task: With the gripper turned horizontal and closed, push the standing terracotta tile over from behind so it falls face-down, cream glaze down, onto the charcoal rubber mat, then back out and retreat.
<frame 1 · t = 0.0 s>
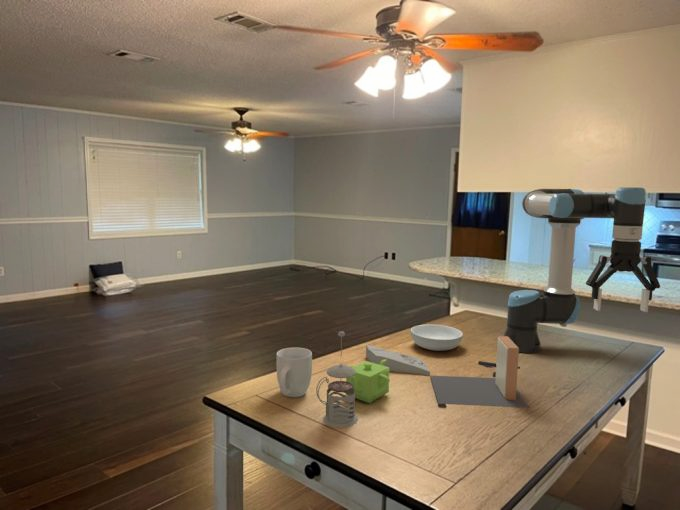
hand: (620, 310, 144), 28 cm above the table, tool pointing down, fingers open, 13 cm apart
ramp: (396, 367, 174), on the table
tile: (505, 391, 150), point 1 cm above the table, touching mat
serving bowl: (435, 348, 196), on the table
mug: (292, 395, 148), on the table
teapot: (367, 397, 147), on the table
mat: (475, 393, 151), on the table
french press: (337, 420, 132), on the table
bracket: (496, 374, 169), on the table
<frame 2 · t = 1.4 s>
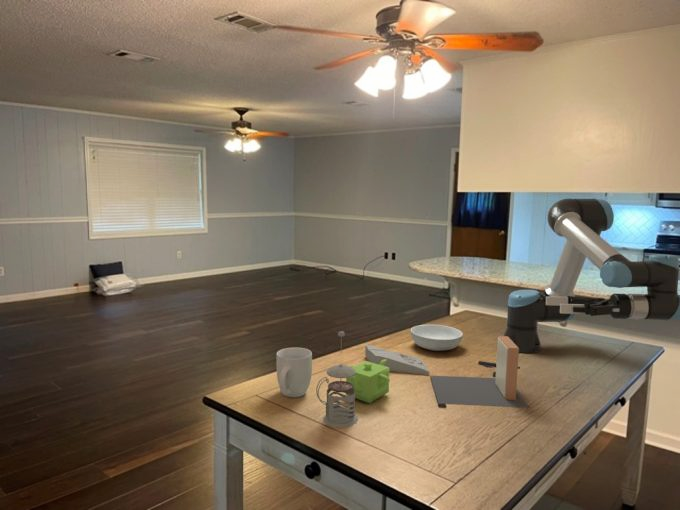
hand: (552, 304, 147), 29 cm above the table, tool horizontal, fingers open, 13 cm apart
nothing on the table moved.
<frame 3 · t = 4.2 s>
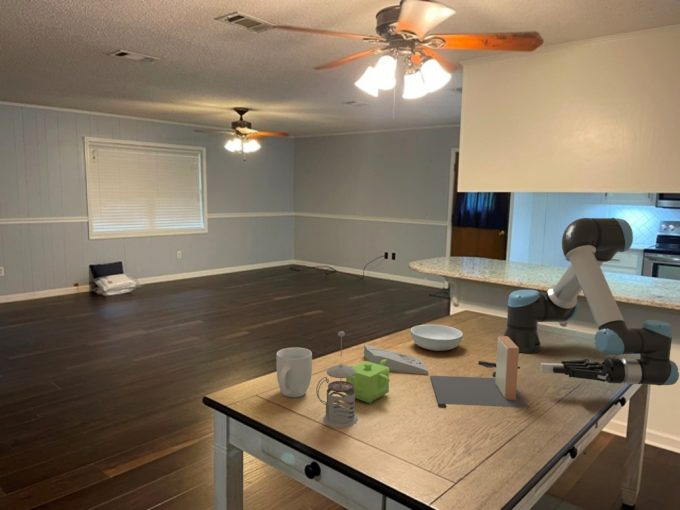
hand: (541, 367, 148), 9 cm above the table, tool horizontal, fingers closed
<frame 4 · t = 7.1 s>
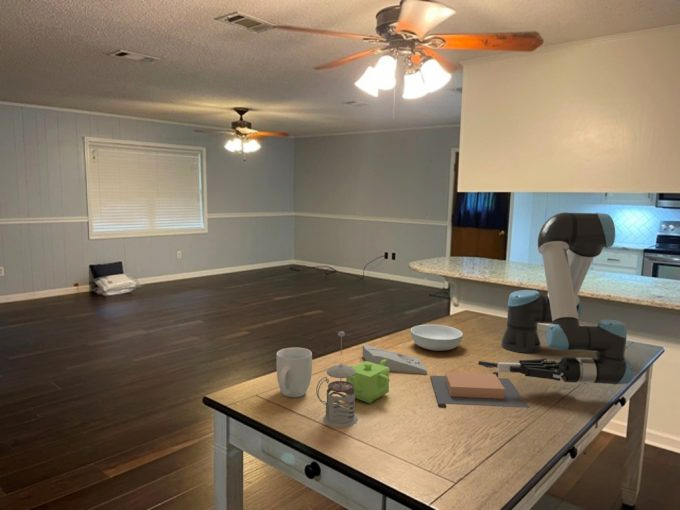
hand: (498, 367, 149), 9 cm above the table, tool horizontal, fingers closed
tile: (499, 385, 150), point 3 cm above the table, tilted 90°, touching mat
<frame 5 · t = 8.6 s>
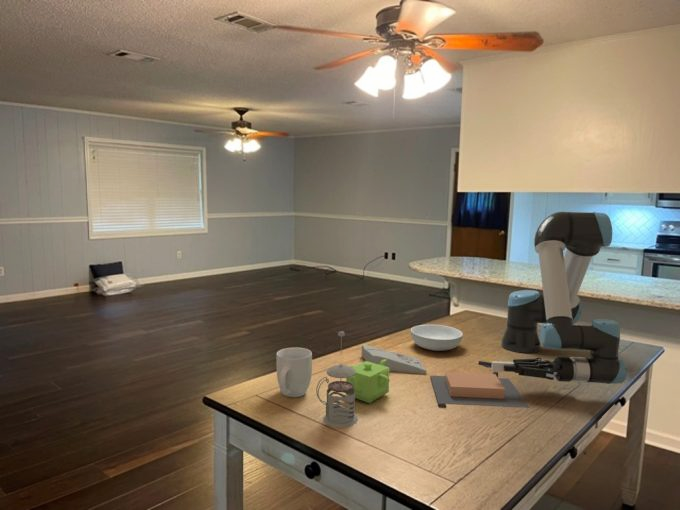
hand: (492, 366, 149), 9 cm above the table, tool horizontal, fingers closed
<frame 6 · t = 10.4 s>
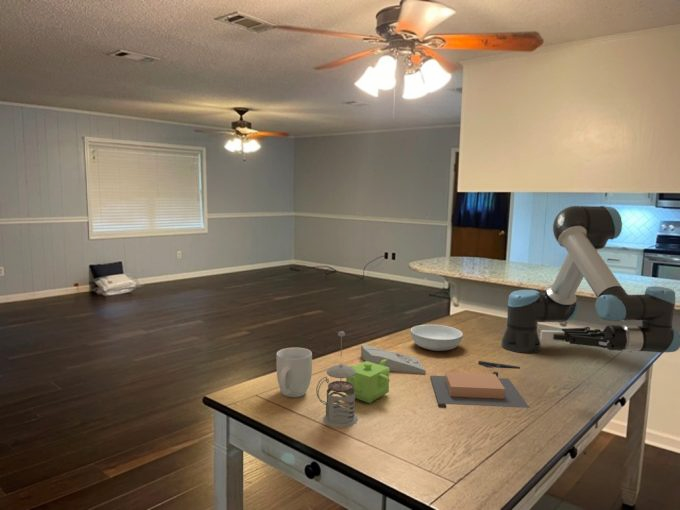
hand: (541, 335, 146), 20 cm above the table, tool horizontal, fingers closed
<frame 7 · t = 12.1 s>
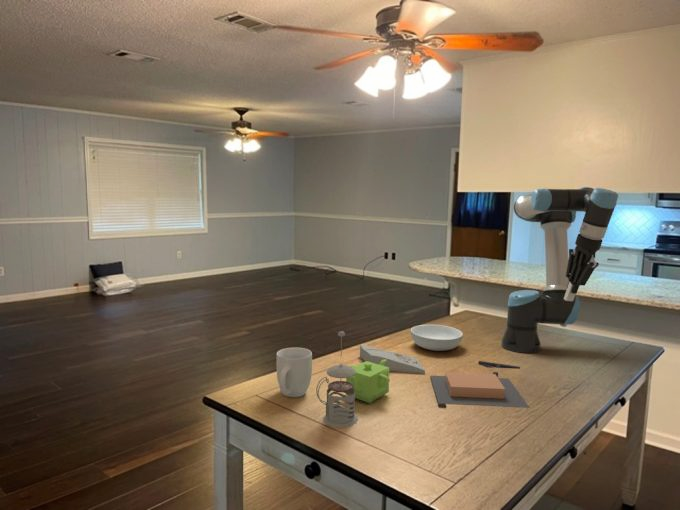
hand: (568, 299, 166), 26 cm above the table, tool tilted 15°, fingers closed
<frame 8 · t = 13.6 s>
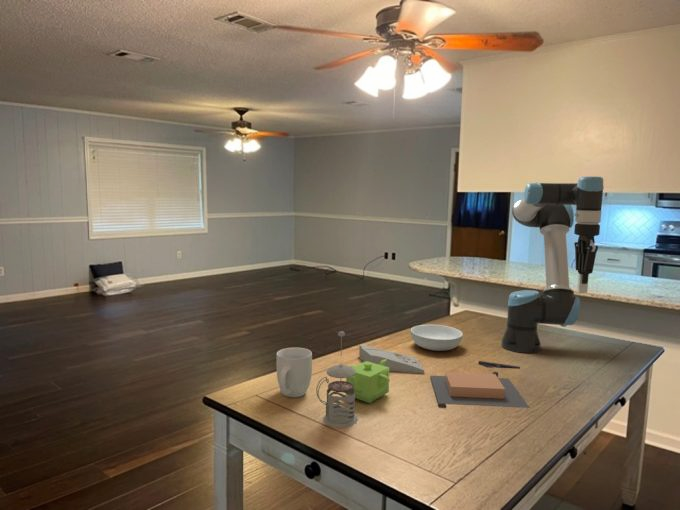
hand: (582, 292, 163), 29 cm above the table, tool pointing down, fingers closed
at the end: tile tilted 90°; tile inside the target area on the mat (7.7 cm from its centre), point 2.7 cm above the mat's base; tile touching mat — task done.
